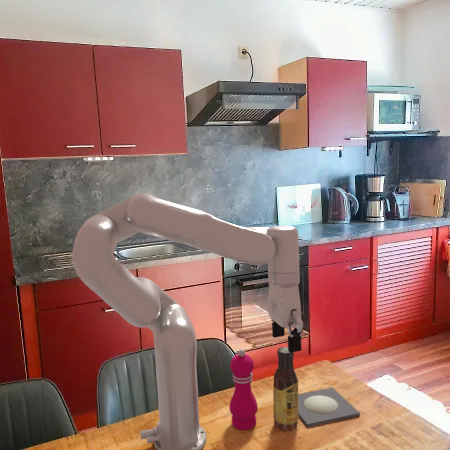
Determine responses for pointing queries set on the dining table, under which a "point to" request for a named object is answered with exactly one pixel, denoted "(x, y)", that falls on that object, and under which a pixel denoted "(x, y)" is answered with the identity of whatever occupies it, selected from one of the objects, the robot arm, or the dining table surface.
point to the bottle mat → (324, 407)
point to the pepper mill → (243, 392)
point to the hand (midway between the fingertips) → (286, 343)
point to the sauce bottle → (285, 392)
